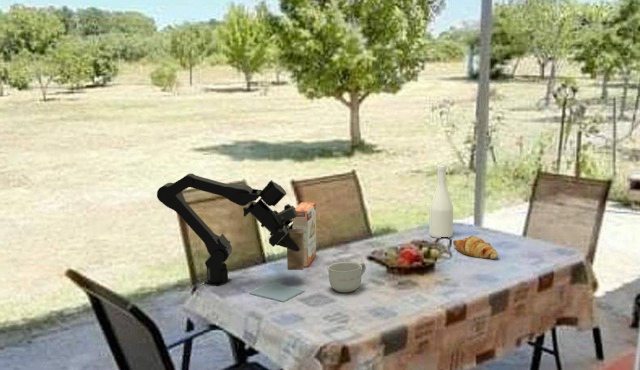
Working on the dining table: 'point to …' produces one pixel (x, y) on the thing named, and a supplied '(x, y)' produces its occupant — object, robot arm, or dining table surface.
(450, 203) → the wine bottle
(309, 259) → the cracker box
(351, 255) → the dining table surface
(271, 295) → the slate mat
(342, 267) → the teacup
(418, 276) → the dining table surface
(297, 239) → the walnut block
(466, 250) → the croissant
